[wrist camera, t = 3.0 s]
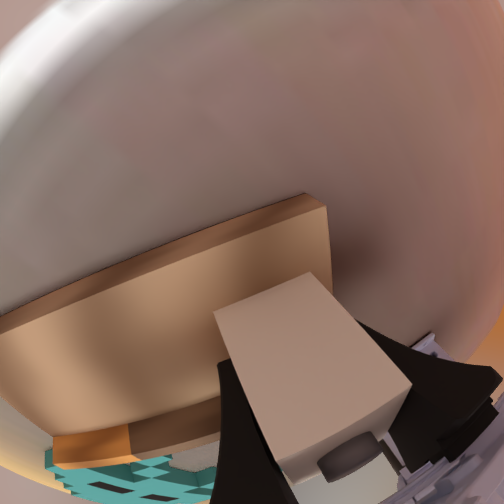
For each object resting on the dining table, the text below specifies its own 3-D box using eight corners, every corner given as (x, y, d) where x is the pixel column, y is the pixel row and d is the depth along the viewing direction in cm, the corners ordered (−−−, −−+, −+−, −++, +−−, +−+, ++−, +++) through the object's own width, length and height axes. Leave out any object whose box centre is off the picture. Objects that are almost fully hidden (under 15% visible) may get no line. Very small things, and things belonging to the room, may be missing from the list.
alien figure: (145, 401, 14) (19, 456, 14) (150, 432, 13) (18, 474, 12) (275, 455, 26) (150, 499, 25) (282, 470, 24) (154, 512, 23)
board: (305, 193, 11) (361, 227, 8) (321, 337, 16) (353, 379, 13) (-33, 333, 8) (-53, 383, 5) (63, 425, 13) (63, 469, 10)
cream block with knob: (309, 271, 11) (429, 403, 5) (317, 347, 14) (392, 451, 8) (212, 311, 10) (288, 487, 5) (244, 380, 13) (302, 500, 7)
